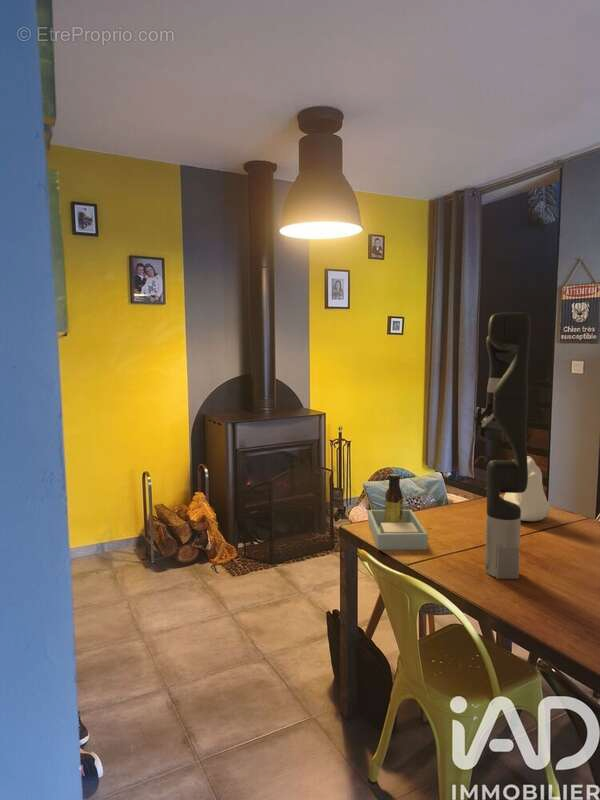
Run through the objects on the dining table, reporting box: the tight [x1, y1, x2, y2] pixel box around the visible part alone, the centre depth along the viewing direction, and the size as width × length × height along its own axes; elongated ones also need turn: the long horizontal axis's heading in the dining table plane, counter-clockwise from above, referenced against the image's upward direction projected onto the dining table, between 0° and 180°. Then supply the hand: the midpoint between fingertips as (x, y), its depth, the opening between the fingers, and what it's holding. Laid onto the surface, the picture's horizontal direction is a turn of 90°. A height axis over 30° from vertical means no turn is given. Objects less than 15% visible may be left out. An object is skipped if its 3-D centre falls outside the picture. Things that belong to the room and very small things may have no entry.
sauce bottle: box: [384, 473, 404, 523], centre depth 190 cm, size 7×6×20 cm
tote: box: [367, 509, 429, 551], centre depth 185 cm, size 26×16×6 cm, turn 0°
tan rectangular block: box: [380, 523, 418, 533], centre depth 179 cm, size 9×11×5 cm
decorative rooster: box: [503, 455, 551, 522], centre depth 206 cm, size 25×16×25 cm, turn 167°
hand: (495, 438), depth 183 cm, fingers open, 8 cm apart
